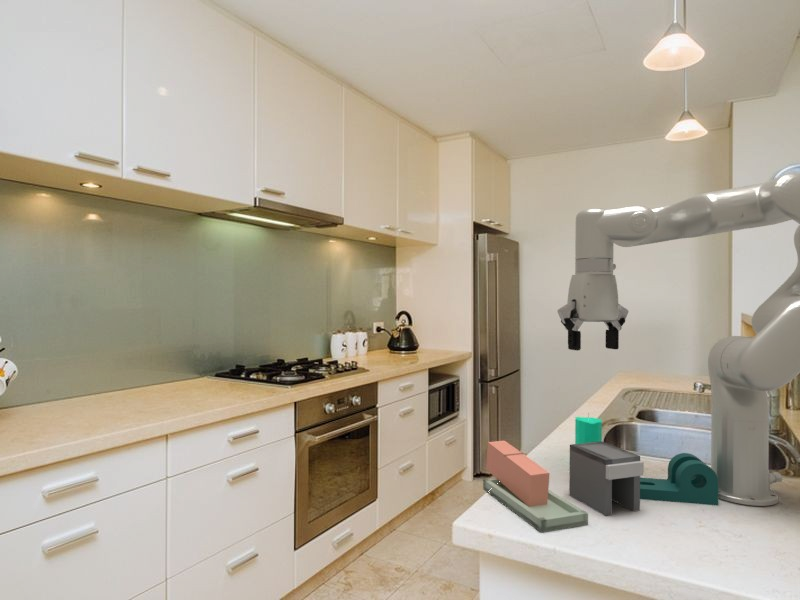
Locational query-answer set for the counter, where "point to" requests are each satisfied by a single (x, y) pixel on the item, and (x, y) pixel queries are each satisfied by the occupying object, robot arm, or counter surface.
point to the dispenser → (605, 476)
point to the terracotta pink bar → (518, 473)
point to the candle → (588, 430)
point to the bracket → (683, 483)
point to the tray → (539, 508)
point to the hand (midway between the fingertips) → (593, 349)
